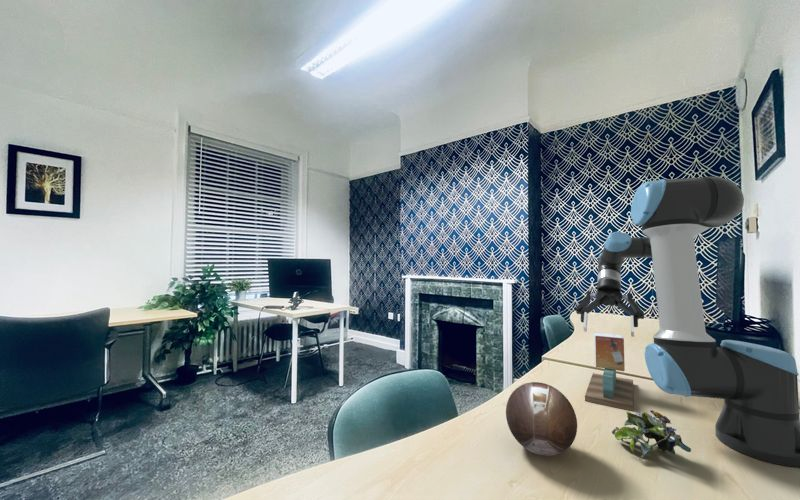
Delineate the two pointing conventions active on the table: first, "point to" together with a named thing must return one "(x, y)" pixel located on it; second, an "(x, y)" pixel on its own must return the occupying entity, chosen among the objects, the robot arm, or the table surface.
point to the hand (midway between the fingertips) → (607, 331)
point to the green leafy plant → (650, 432)
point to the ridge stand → (610, 390)
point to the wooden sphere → (541, 419)
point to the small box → (609, 351)
